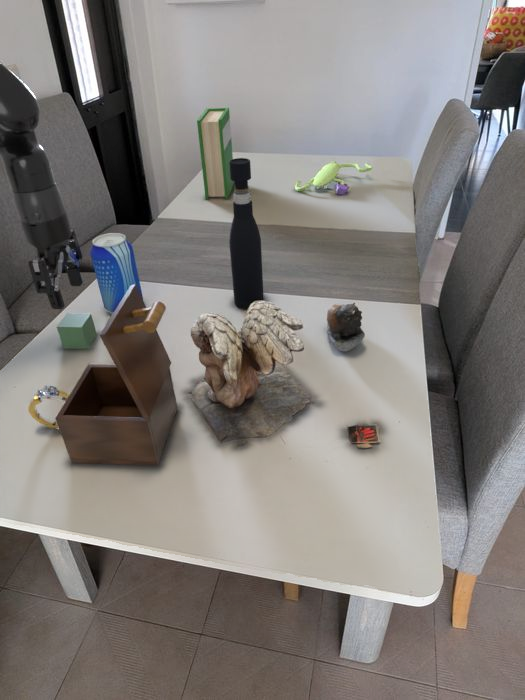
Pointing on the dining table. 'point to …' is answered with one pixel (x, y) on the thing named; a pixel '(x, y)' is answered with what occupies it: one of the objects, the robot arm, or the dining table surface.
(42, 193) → the robot arm
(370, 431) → the matchbox
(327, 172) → the figurine
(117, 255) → the beer can
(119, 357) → the lid
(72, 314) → the block
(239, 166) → the black bottle
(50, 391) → the ring
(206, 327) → the cherub figurine
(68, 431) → the chest
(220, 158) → the hardback book
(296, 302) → the dining table surface
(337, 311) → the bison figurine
